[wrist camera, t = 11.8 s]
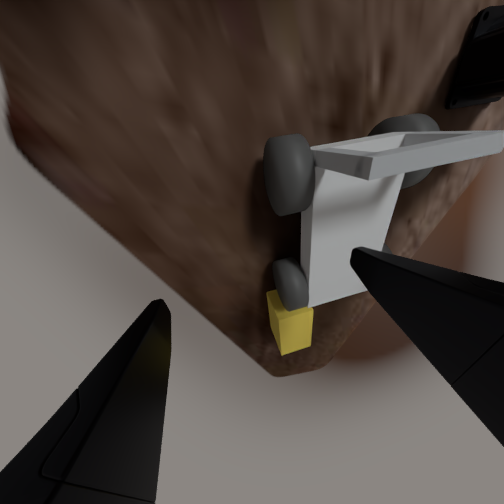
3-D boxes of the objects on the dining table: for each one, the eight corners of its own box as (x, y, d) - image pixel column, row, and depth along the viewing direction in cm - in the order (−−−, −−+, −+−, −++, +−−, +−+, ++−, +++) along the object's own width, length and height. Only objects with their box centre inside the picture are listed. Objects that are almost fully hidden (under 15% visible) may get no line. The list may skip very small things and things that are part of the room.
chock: (295, 283, 27) (313, 309, 23) (295, 318, 32) (310, 345, 27) (266, 291, 27) (278, 320, 22) (270, 326, 31) (281, 355, 27)
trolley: (260, 137, 16) (331, 139, 8) (385, 116, 18) (560, 99, 9) (273, 287, 26) (311, 362, 18) (353, 265, 28) (423, 324, 19)
